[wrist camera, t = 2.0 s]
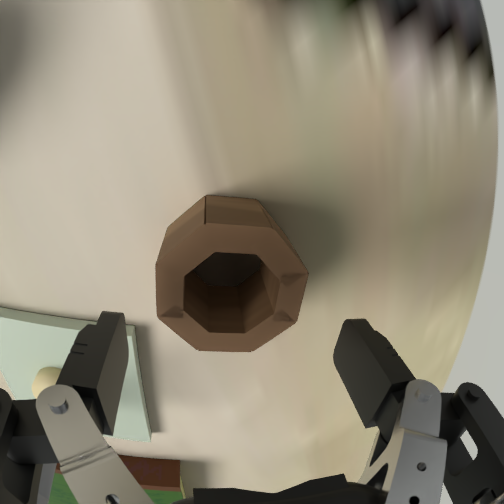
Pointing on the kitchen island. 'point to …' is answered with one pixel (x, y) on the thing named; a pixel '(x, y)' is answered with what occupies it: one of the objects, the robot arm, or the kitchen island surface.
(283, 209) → the kitchen island surface
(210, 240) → the ring
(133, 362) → the post
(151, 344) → the kitchen island surface
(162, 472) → the hardcover book
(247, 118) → the kitchen island surface
